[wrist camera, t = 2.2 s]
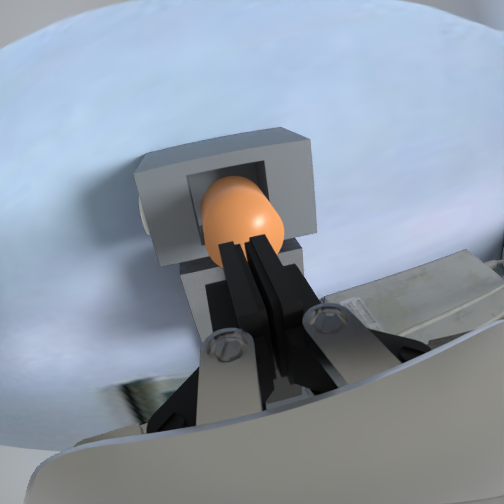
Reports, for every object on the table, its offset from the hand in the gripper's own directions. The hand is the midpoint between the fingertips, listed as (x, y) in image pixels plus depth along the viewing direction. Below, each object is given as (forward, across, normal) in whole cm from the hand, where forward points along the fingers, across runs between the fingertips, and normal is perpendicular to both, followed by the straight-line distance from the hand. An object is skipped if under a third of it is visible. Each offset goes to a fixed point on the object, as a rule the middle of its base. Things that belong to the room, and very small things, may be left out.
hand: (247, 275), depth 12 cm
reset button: (+7, -1, 0) cm, 7 cm away
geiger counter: (+13, -21, +14) cm, 28 cm away
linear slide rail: (+14, -1, +12) cm, 18 cm away
